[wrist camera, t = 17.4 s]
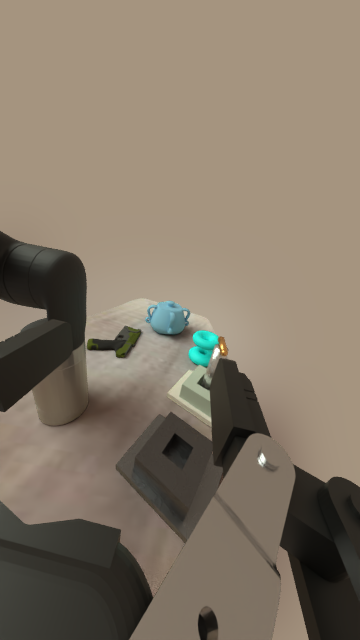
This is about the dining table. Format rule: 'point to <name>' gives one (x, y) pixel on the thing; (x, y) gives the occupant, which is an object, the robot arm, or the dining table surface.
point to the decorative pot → (167, 318)
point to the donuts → (203, 347)
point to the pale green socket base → (193, 395)
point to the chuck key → (214, 362)
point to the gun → (117, 342)
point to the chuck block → (173, 472)
